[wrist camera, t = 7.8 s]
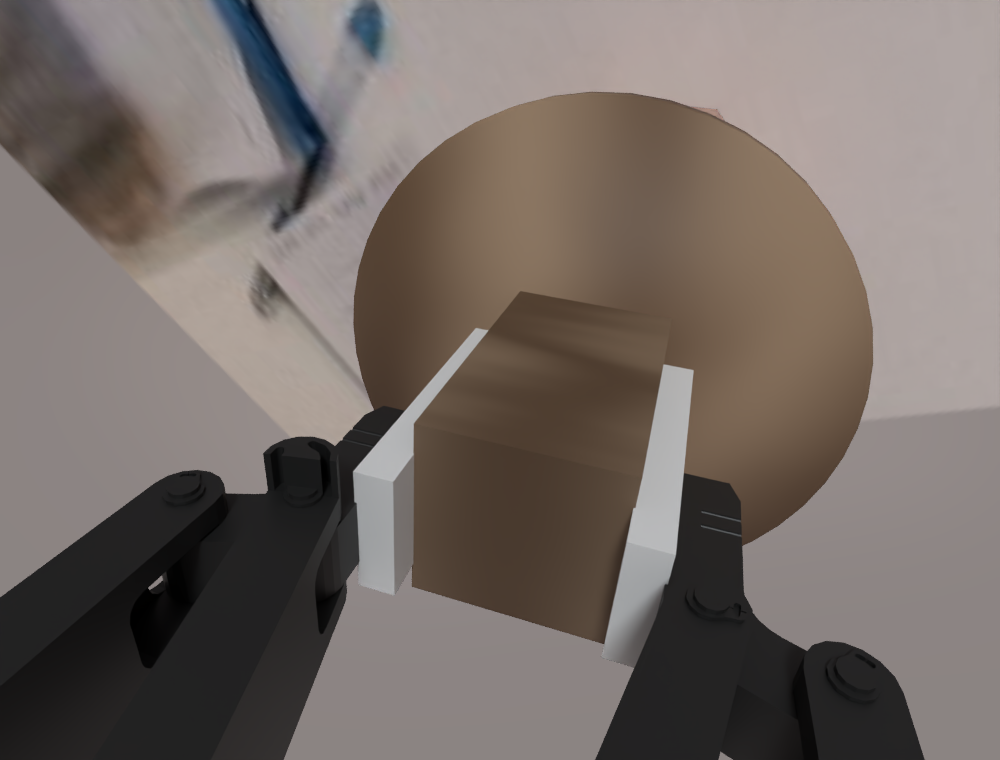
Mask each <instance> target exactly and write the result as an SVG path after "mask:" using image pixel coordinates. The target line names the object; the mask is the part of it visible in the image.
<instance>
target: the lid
mask: <svg viewBox="0 0 1000 760" xmlns="http://www.w3.org/2000/svg"><path fill="white" fill-rule="evenodd" d="M476 328H479V329H484V330H489V331H488V332H487V333H486V334H485V336H484V337H483V338H482V339H481V340H480V342H479V343H478V344H477V345H476V347H475V348H474V349H473V350H472V352H471V353H470V354H469V355H468V357H467V358H466V359H465V360H464V362H463V363H462V364H461V365H460V367H459V368H458V369H457V370H456V372H455V373H454V374H453V375H452V377H451V378H450V379H449V380H448V382H447V383H446V384H445V385H444V386H443V388H442V389H441V390H440V391H439V393H438V394H437V395H436V396H435V398H434V399H433V400H432V401H431V403H430V404H429V405H428V406H427V408H426V409H425V410H424V411H423V413H422V414H421V415H420V416H419V418H418V419H417V420H416V421H415V423H414V448H413V454H414V543H413V565H412V587H415V588H418V589H422V590H425V591H428V592H432V593H436V594H438V595H442V596H445V597H449V598H452V599H455V600H459V601H462V602H465V603H469V604H472V605H475V606H479V607H482V608H485V609H489V610H492V611H495V612H499V613H502V614H505V615H509V616H512V617H515V618H519V619H522V620H525V621H529V622H532V623H535V624H539V625H542V626H545V627H549V628H552V629H556V630H559V631H562V632H566V633H569V634H572V635H576V636H579V637H582V638H585V639H589V640H592V641H595V642H599V643H602V644H604V643H605V638H606V633H607V628H608V623H609V618H610V613H611V609H612V604H613V600H614V595H615V590H616V586H617V581H618V577H619V572H620V568H621V563H622V558H623V554H624V549H625V545H626V540H627V535H628V531H629V526H630V522H631V517H632V513H633V508H636V503H637V499H638V495H639V490H640V486H641V481H642V477H643V471H644V466H645V461H646V455H647V450H648V445H649V439H650V434H651V429H652V423H653V418H654V413H655V407H656V402H657V397H658V391H659V386H660V381H661V376H662V370H663V365H664V364H665V365H670V366H675V367H680V368H685V369H690V370H694V371H693V382H692V392H691V403H690V413H689V423H688V434H687V444H686V455H685V465H684V473H686V474H690V475H695V476H699V477H704V478H708V479H712V480H717V481H721V482H725V483H730V485H731V487H732V488H733V490H734V491H735V493H736V495H737V496H738V498H739V499H740V501H741V524H742V535H741V538H742V546H743V545H745V544H747V543H749V542H752V541H753V540H755V539H757V538H759V537H760V536H762V535H764V534H765V533H767V532H769V531H770V530H772V529H774V528H775V527H777V526H779V525H780V524H781V523H782V522H784V521H785V520H786V519H787V518H789V517H790V516H791V515H793V514H794V513H795V512H796V511H798V510H799V509H800V508H801V507H803V506H804V505H805V504H806V503H807V501H808V500H809V499H810V498H811V497H812V496H813V495H814V494H815V493H816V492H817V491H818V490H819V489H820V488H821V487H822V486H823V485H824V484H825V482H826V481H827V480H828V478H829V477H830V475H831V474H832V472H833V471H834V470H835V468H836V467H837V465H838V464H839V463H840V461H841V460H842V458H843V457H844V455H845V453H846V451H847V449H848V447H849V445H850V443H851V441H852V439H853V437H854V435H855V433H856V431H857V429H858V426H859V423H860V420H861V417H862V414H863V411H864V407H865V404H866V401H867V398H868V393H869V386H870V380H871V373H872V366H873V327H872V322H871V316H870V310H869V305H868V299H867V294H866V290H865V287H864V284H863V281H862V278H861V275H860V273H859V270H858V267H857V264H856V261H855V258H854V256H853V254H852V252H851V250H850V248H849V246H848V244H847V243H846V241H845V239H844V237H843V235H842V233H841V232H840V230H839V228H838V226H837V224H836V222H835V221H834V219H833V217H832V216H831V214H830V212H829V211H828V210H827V208H826V207H825V206H824V204H823V203H822V202H821V201H820V199H819V198H818V197H817V195H816V194H815V193H814V191H813V190H812V189H811V188H810V186H809V185H808V184H807V182H806V181H805V180H804V179H803V178H802V177H801V176H800V175H798V174H797V173H796V172H795V171H794V170H793V169H792V168H791V167H790V166H789V165H788V164H787V163H786V162H785V161H784V160H783V159H782V158H781V157H780V156H779V155H778V154H776V153H775V152H773V151H772V150H771V149H769V148H768V147H766V146H765V145H763V144H762V143H761V142H759V141H758V140H756V139H755V138H754V137H752V136H751V135H749V134H748V133H746V132H745V131H743V130H741V129H739V128H737V127H735V126H733V125H731V124H729V123H727V122H725V121H723V120H721V119H719V118H717V117H715V116H713V115H711V114H709V113H707V112H704V111H701V110H698V109H695V108H692V107H689V106H686V105H683V104H680V103H677V102H674V101H671V100H666V99H660V98H655V97H649V96H644V95H638V94H633V93H611V92H586V93H577V94H567V95H558V96H552V97H548V98H544V99H540V100H536V101H533V102H529V103H525V104H521V105H517V106H514V107H511V108H509V109H506V110H504V111H501V112H499V113H497V114H494V115H492V116H489V117H487V118H485V119H482V120H480V121H478V122H475V123H474V124H472V125H470V126H469V127H467V128H465V129H464V130H462V131H460V132H459V133H457V134H455V135H454V136H452V137H450V138H449V139H447V140H445V141H444V142H443V143H442V144H441V145H439V146H438V147H437V148H436V149H435V150H433V151H432V152H431V153H430V154H429V155H427V156H426V157H425V158H424V159H423V160H421V161H420V162H419V163H418V164H417V165H416V166H415V168H414V169H413V170H412V171H411V172H410V173H409V174H408V175H407V176H406V178H405V179H404V180H403V181H402V182H401V183H400V184H399V185H398V186H397V188H396V190H395V191H394V193H393V194H392V196H391V197H390V199H389V200H388V202H387V203H386V205H385V206H384V208H383V209H382V211H381V212H380V214H379V216H378V218H377V221H376V223H375V225H374V227H373V229H372V231H371V233H370V235H369V238H368V240H367V243H366V246H365V249H364V253H363V256H362V259H361V262H360V266H359V270H358V276H357V282H356V289H355V295H354V334H355V344H356V353H357V357H358V361H359V366H360V370H361V375H362V379H363V382H364V384H365V387H366V390H367V393H368V396H369V398H370V401H371V404H372V406H373V408H374V410H376V409H378V408H380V407H382V406H387V407H392V408H396V409H400V410H406V409H407V408H408V407H409V406H410V404H411V403H412V402H413V401H414V400H415V399H416V397H417V396H418V395H419V394H420V393H421V392H422V390H423V389H424V388H425V387H426V386H427V385H428V383H429V382H430V381H431V380H432V379H433V378H434V376H435V375H436V374H437V373H438V372H439V371H440V369H441V368H442V367H443V366H444V365H445V364H446V362H447V361H448V360H449V359H450V358H451V357H452V355H453V354H454V353H455V352H456V351H457V350H458V348H459V347H460V346H461V345H462V344H463V343H464V341H465V340H466V339H467V338H468V337H469V336H470V334H471V333H472V332H473V331H474V330H475V329H476Z"/></svg>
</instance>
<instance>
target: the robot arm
mask: <svg viewBox="0 0 1000 760" xmlns="http://www.w3.org/2000/svg"><path fill="white" fill-rule="evenodd" d="M488 331H489V330H484V329H479V328H476V329H475V330H474V331H473V332H472V333H471V334H470V336H469V337H468V338H467V339H466V340H465V341H464V343H463V344H462V345H461V346H460V347H459V348H458V350H457V351H456V352H455V353H454V354H453V355H452V357H451V358H450V359H449V360H448V361H447V362H446V364H445V365H444V366H443V367H442V368H441V369H440V371H439V372H438V373H437V374H436V375H435V376H434V378H433V379H432V380H431V381H430V382H429V383H428V385H427V386H426V387H425V388H424V389H423V390H422V392H421V393H420V394H419V395H418V396H417V397H416V399H415V400H414V401H413V402H412V403H411V404H410V406H409V407H408V408H407V409H406V410H400V409H396V408H392V407H387V406H382V407H380V408H378V409H376V410H374V411H372V412H370V413H368V414H366V415H364V416H363V417H362V418H361V420H360V421H359V422H358V423H357V424H356V425H355V426H354V427H353V430H350V431H349V432H348V433H347V434H346V435H345V436H344V437H343V440H342V441H340V442H339V443H338V444H337V445H336V446H334V445H333V444H331V443H329V442H328V441H326V440H324V439H320V438H316V437H295V438H290V439H285V440H283V441H280V442H278V443H276V444H274V445H272V446H271V447H270V448H269V449H267V450H266V451H265V452H264V453H263V455H264V463H265V470H266V478H267V486H268V491H267V493H266V494H226V493H225V487H224V483H223V482H222V480H221V478H220V477H219V476H217V475H215V474H213V473H211V472H207V471H200V470H194V471H182V472H179V473H176V474H172V475H169V476H167V477H165V478H163V479H161V480H160V481H158V482H156V483H155V484H153V485H152V486H150V487H149V488H148V489H146V490H145V491H144V492H142V493H141V494H140V495H138V496H137V497H135V498H134V499H133V500H131V501H130V502H129V503H127V504H126V505H125V506H123V507H122V508H121V509H119V510H118V511H117V512H115V513H114V514H112V515H111V516H110V517H108V518H107V519H106V520H104V521H103V522H102V523H100V524H99V525H98V526H96V527H95V528H94V529H92V530H91V531H90V532H88V533H87V534H85V535H84V536H83V537H81V538H80V539H79V540H77V541H76V542H75V543H73V544H72V545H71V546H69V547H68V548H67V549H65V550H64V551H62V552H61V553H60V554H58V555H57V556H56V557H54V558H53V559H52V560H50V561H49V562H48V563H46V564H45V565H43V566H42V567H41V568H39V569H38V570H37V571H36V572H34V573H33V574H32V575H30V576H29V577H27V578H26V579H25V580H23V581H22V582H21V583H19V584H18V585H17V586H15V587H14V588H13V589H11V590H10V591H8V592H7V593H6V594H4V595H3V596H2V597H0V760H284V757H285V755H286V752H287V749H288V747H289V744H290V742H291V739H292V737H293V734H294V731H295V729H296V726H297V724H298V721H299V719H300V716H301V714H302V711H303V709H304V706H305V703H306V701H307V698H308V696H309V693H310V691H311V688H312V686H313V683H314V680H315V678H316V675H317V673H318V670H319V668H320V665H321V662H322V660H323V657H324V655H325V652H326V649H327V647H328V645H329V642H330V639H331V637H332V634H333V632H334V629H335V627H336V624H337V622H338V619H339V616H340V614H341V611H342V609H343V606H344V604H345V601H346V594H347V588H346V587H347V586H346V580H347V578H348V577H349V576H350V574H351V573H352V571H353V570H354V568H355V567H356V566H357V564H358V581H359V585H361V586H365V587H368V588H371V589H374V590H378V591H381V592H384V593H388V594H391V595H395V594H396V592H397V591H398V589H399V587H400V585H401V584H402V582H403V581H404V579H405V577H406V575H407V574H408V572H409V570H410V568H411V567H412V565H413V543H414V454H413V448H414V423H415V421H416V420H417V419H418V418H419V416H420V415H421V414H422V413H423V411H424V410H425V409H426V408H427V406H428V405H429V404H430V403H431V401H432V400H433V399H434V398H435V396H436V395H437V394H438V393H439V391H440V390H441V389H442V388H443V386H444V385H445V384H446V383H447V382H448V380H449V379H450V378H451V377H452V375H453V374H454V373H455V372H456V370H457V369H458V368H459V367H460V365H461V364H462V363H463V362H464V360H465V359H466V358H467V357H468V355H469V354H470V353H471V352H472V350H473V349H474V348H475V347H476V345H477V344H478V343H479V342H480V340H481V339H482V338H483V337H484V336H485V334H486V333H487V332H488ZM693 371H694V370H690V369H685V368H680V367H675V366H670V365H665V364H664V365H663V370H662V376H661V381H660V386H659V391H658V397H657V402H656V407H655V413H654V418H653V423H652V429H651V434H650V439H649V445H648V450H647V455H646V461H645V466H644V471H643V477H642V481H641V486H640V490H639V495H638V499H637V503H636V508H633V513H632V517H631V522H630V526H629V531H628V535H627V540H626V545H625V549H624V554H623V558H622V563H621V568H620V572H619V577H618V581H617V586H616V590H615V595H614V600H613V604H612V609H611V613H610V618H609V623H608V628H607V633H606V638H605V643H604V648H603V653H602V658H604V659H607V660H610V661H614V662H617V663H620V664H624V665H627V666H631V667H634V671H633V673H632V675H631V677H630V680H629V682H628V684H627V687H626V689H625V691H624V694H623V696H622V698H621V701H620V703H619V705H618V708H617V710H616V712H615V715H614V717H613V719H612V722H611V724H610V727H609V729H608V731H607V734H606V736H605V738H604V741H603V743H602V745H601V748H600V750H599V752H598V755H597V757H596V759H595V760H718V759H719V755H720V751H721V752H722V753H724V754H725V755H727V756H728V757H730V758H732V759H733V760H924V757H923V753H922V750H921V747H920V744H919V741H918V737H917V734H916V731H915V728H914V725H913V722H912V718H911V715H910V712H909V709H908V706H907V703H906V699H905V696H904V693H903V691H902V689H901V687H900V686H899V684H898V682H897V680H896V678H895V676H894V675H893V674H892V673H891V672H890V671H889V670H888V669H887V668H886V667H885V666H884V665H883V664H882V663H881V662H880V661H878V660H877V659H875V658H874V657H872V656H871V655H869V654H868V653H866V652H865V651H863V650H861V649H859V648H856V647H853V646H851V645H848V644H846V643H841V642H831V641H825V642H822V643H818V644H814V645H812V646H811V648H810V649H809V650H808V651H806V650H804V649H802V648H800V647H798V646H797V645H795V644H793V643H791V642H789V641H787V640H785V639H783V638H781V637H780V636H779V635H777V634H775V633H774V632H772V631H771V630H769V629H768V628H767V627H766V626H765V625H764V624H762V623H761V622H760V621H759V620H758V619H757V618H756V616H755V615H754V614H753V613H752V608H751V606H750V604H749V603H748V601H747V599H746V597H745V595H744V586H743V556H742V538H741V535H742V524H741V501H740V499H739V498H738V496H737V495H736V493H735V491H734V490H733V488H732V487H731V485H730V483H725V482H721V481H717V480H712V479H708V478H704V477H699V476H695V475H690V474H686V473H684V465H685V455H686V444H687V434H688V423H689V413H690V403H691V392H692V382H693ZM161 575H162V577H163V581H162V582H161V583H159V584H158V585H157V586H156V587H154V588H153V589H151V590H149V589H148V587H149V586H150V585H151V584H153V583H154V582H155V581H156V580H157V579H158V578H159V577H160V576H161Z"/></svg>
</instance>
